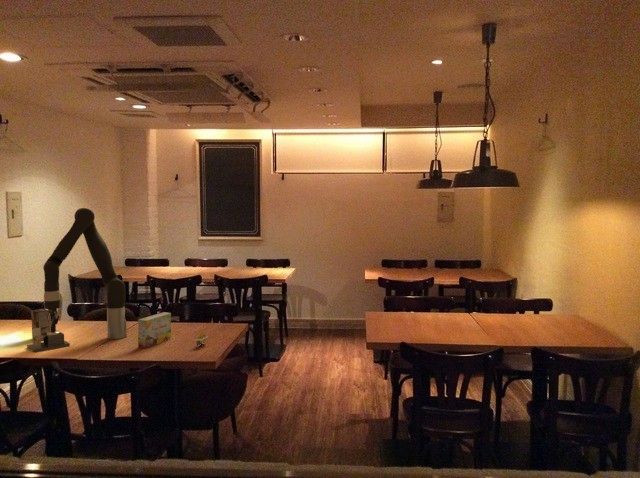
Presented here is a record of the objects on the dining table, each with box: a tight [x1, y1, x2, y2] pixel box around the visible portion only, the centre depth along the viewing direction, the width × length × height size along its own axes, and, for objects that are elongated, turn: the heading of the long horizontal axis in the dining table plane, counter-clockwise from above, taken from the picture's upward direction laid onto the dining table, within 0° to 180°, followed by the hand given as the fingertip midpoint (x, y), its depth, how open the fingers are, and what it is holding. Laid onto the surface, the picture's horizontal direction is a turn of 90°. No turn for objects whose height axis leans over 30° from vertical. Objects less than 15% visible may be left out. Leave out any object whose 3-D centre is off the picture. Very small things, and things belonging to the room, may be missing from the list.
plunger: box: [35, 329, 61, 339], centre depth 269 cm, size 12×6×4 cm, turn 135°
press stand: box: [26, 328, 71, 353], centre depth 270 cm, size 17×12×10 cm
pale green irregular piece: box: [194, 332, 209, 347], centre depth 273 cm, size 12×18×7 cm, turn 168°
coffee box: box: [30, 308, 50, 342], centre depth 285 cm, size 9×6×16 cm
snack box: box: [137, 311, 172, 349], centre depth 278 cm, size 21×6×15 cm, turn 160°
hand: (53, 331), depth 271 cm, fingers closed
